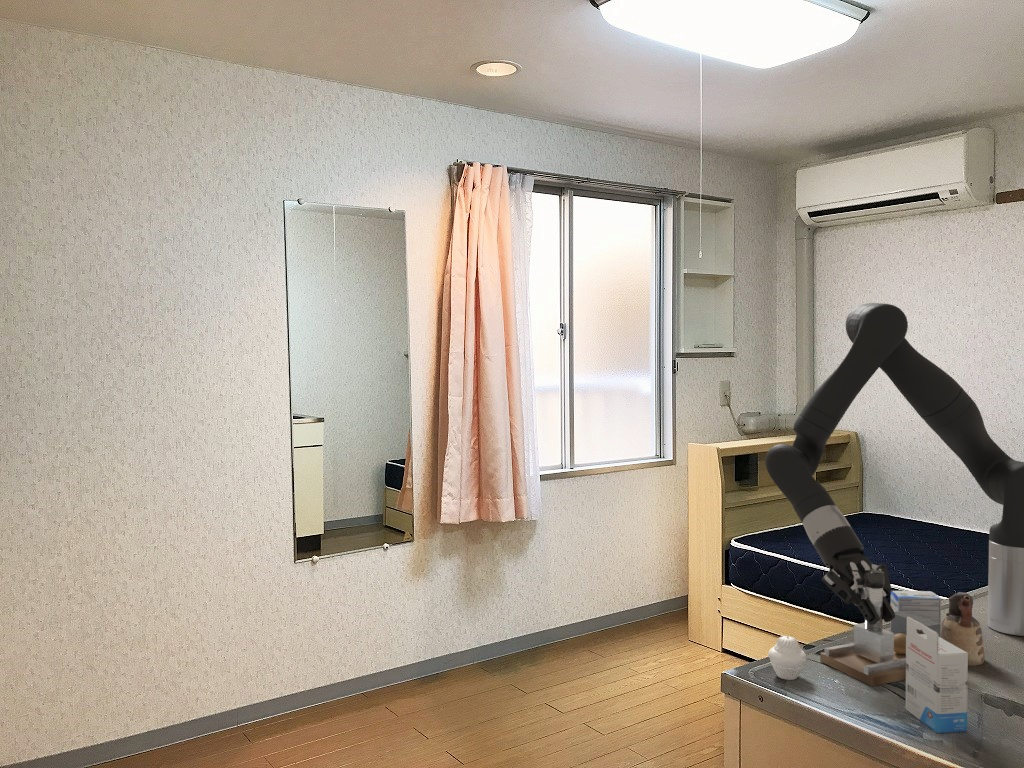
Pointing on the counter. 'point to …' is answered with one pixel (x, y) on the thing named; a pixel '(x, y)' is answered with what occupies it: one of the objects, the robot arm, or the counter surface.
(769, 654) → the muffin
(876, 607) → the press handle
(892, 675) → the wooden tray with rails
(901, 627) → the grey metal frame
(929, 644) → the ink box
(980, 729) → the counter surface
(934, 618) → the medicine box
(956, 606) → the figurine
